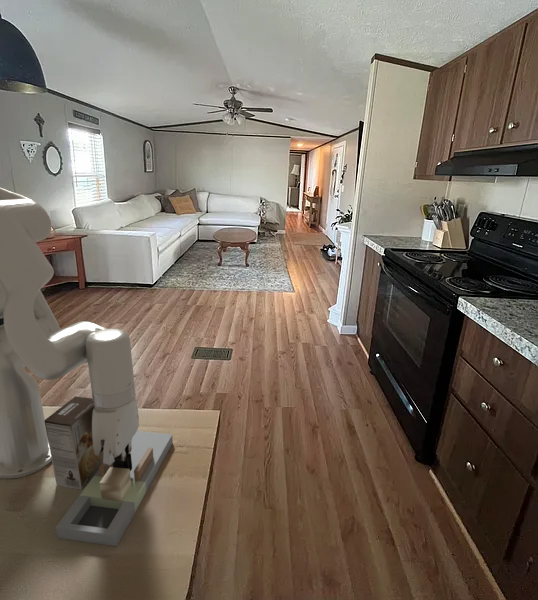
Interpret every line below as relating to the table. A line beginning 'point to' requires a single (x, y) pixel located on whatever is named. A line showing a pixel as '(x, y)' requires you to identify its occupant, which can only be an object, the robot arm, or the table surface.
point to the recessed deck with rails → (107, 513)
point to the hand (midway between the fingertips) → (123, 471)
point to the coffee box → (73, 443)
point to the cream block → (115, 484)
